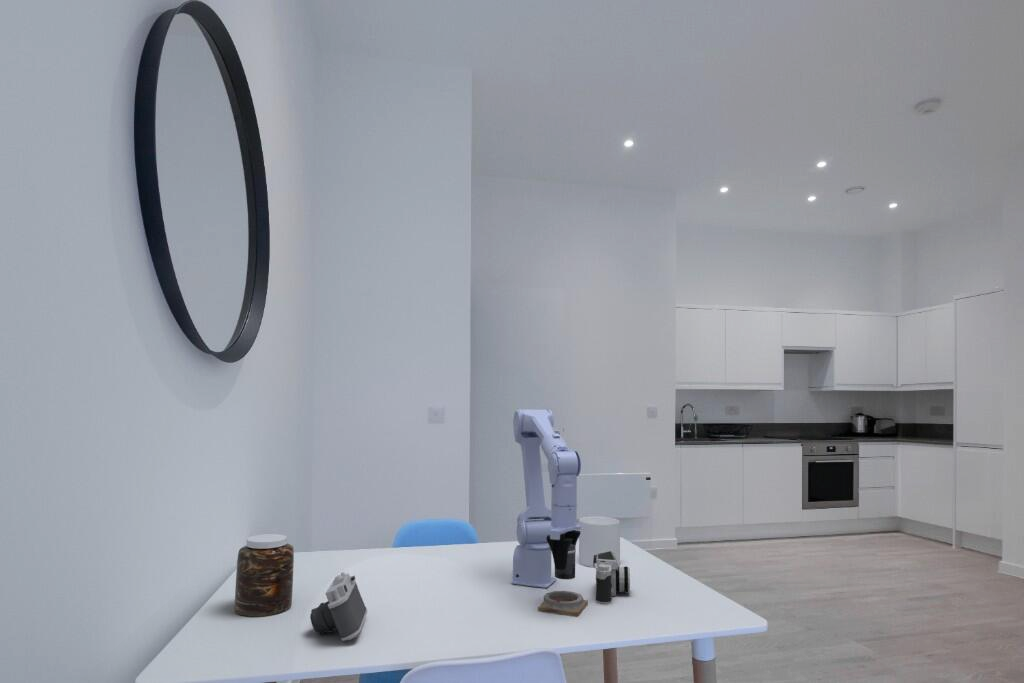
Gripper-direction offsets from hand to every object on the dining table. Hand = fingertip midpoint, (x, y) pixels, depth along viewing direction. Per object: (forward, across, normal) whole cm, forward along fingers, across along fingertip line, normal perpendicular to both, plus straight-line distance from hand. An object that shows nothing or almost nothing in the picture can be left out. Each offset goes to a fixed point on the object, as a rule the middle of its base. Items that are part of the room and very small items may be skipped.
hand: (563, 566), depth 137 cm
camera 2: (+9, +14, -8) cm, 18 cm away
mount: (+9, 0, 0) cm, 9 cm away
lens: (+2, 0, 0) cm, 2 cm away
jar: (+9, -26, +61) cm, 67 cm away
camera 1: (+9, -31, +38) cm, 50 cm away
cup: (+9, +41, +1) cm, 42 cm away
